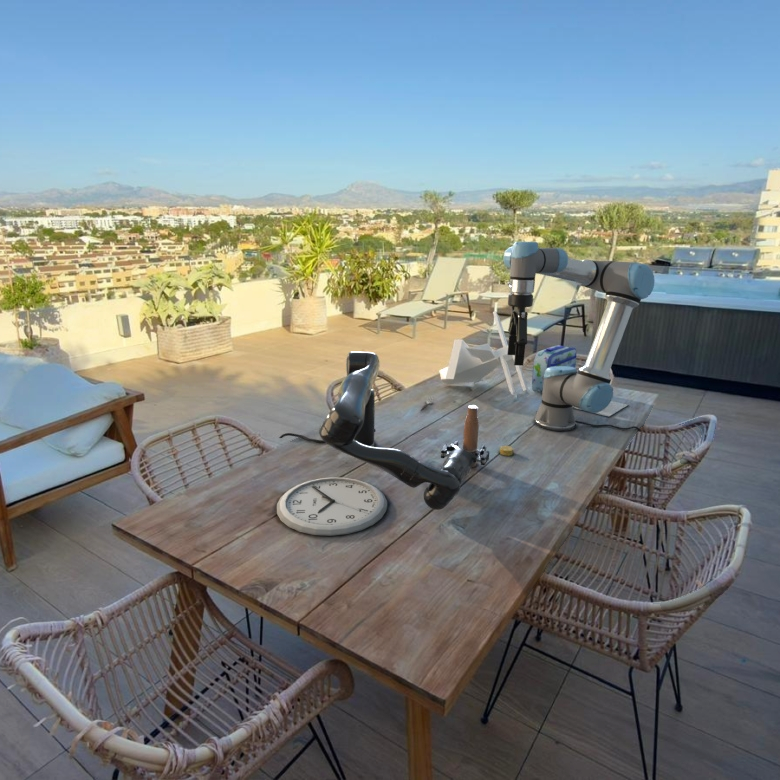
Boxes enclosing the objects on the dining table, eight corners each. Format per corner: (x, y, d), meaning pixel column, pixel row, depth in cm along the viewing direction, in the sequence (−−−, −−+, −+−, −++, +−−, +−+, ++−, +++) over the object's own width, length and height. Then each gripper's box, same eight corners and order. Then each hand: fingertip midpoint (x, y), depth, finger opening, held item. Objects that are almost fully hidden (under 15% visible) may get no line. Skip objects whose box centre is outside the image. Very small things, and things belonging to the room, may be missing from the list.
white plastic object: (461, 429, 252) (437, 405, 227) (444, 352, 274) (420, 323, 250) (535, 404, 240) (518, 377, 215) (510, 326, 262) (492, 293, 237)
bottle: (467, 468, 166) (471, 410, 160) (458, 463, 170) (462, 405, 164) (478, 465, 168) (483, 407, 162) (470, 460, 172) (474, 403, 166)
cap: (512, 456, 176) (512, 451, 175) (499, 454, 177) (499, 449, 176) (512, 451, 180) (513, 446, 179) (500, 449, 181) (500, 445, 180)
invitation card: (608, 416, 214) (573, 407, 224) (608, 416, 214) (573, 408, 224) (628, 404, 229) (594, 396, 238) (628, 405, 229) (594, 397, 238)
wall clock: (392, 527, 129) (268, 531, 127) (391, 533, 130) (269, 537, 127) (383, 473, 158) (282, 475, 155) (383, 478, 158) (282, 480, 156)
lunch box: (548, 398, 236) (553, 353, 229) (527, 393, 243) (531, 349, 237) (575, 387, 253) (581, 344, 247) (555, 382, 260) (560, 341, 254)
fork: (417, 411, 216) (418, 406, 216) (428, 400, 231) (428, 395, 230) (423, 412, 215) (424, 407, 215) (434, 400, 230) (434, 396, 229)
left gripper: (482, 458, 149) (493, 438, 163) (434, 450, 154) (449, 431, 168) (480, 482, 151) (491, 460, 166) (433, 473, 156) (448, 452, 171)
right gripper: (503, 288, 174) (498, 350, 180) (515, 298, 150) (509, 369, 157) (525, 289, 174) (520, 351, 180) (541, 298, 150) (534, 370, 156)
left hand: (470, 445), depth 167 cm, fingers open, 8 cm apart
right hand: (515, 359), depth 168 cm, fingers open, 13 cm apart
